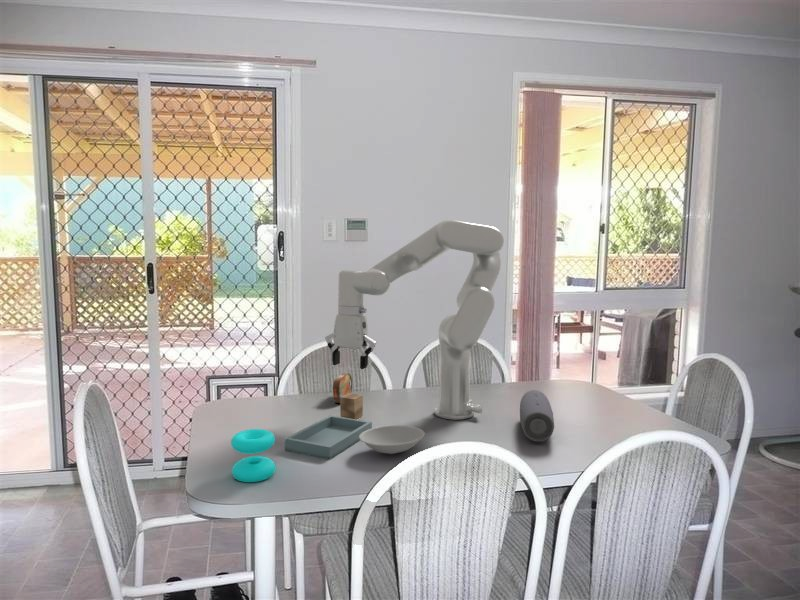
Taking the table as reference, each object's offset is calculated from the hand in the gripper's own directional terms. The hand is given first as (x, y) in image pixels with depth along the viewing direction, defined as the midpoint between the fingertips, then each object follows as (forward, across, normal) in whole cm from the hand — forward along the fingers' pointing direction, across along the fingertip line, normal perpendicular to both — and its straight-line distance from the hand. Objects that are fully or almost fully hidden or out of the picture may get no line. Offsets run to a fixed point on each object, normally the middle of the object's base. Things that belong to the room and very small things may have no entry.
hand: (349, 366), depth 178 cm
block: (+16, -1, 0) cm, 16 cm away
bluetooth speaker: (+16, -55, -14) cm, 58 cm away
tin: (+17, +12, -16) cm, 27 cm away
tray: (+16, -6, +20) cm, 26 cm away
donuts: (+17, -2, +46) cm, 50 cm away
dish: (+16, -25, +20) cm, 35 cm away
